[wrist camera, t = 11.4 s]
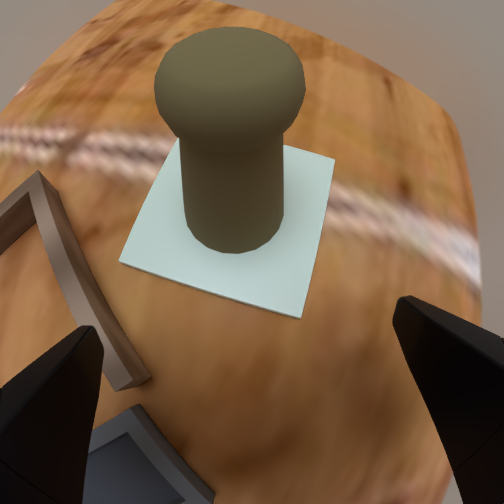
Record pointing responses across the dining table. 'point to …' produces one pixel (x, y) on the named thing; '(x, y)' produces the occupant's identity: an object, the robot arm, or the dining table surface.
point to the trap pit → (138, 466)
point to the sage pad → (245, 264)
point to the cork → (231, 131)
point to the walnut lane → (71, 274)
